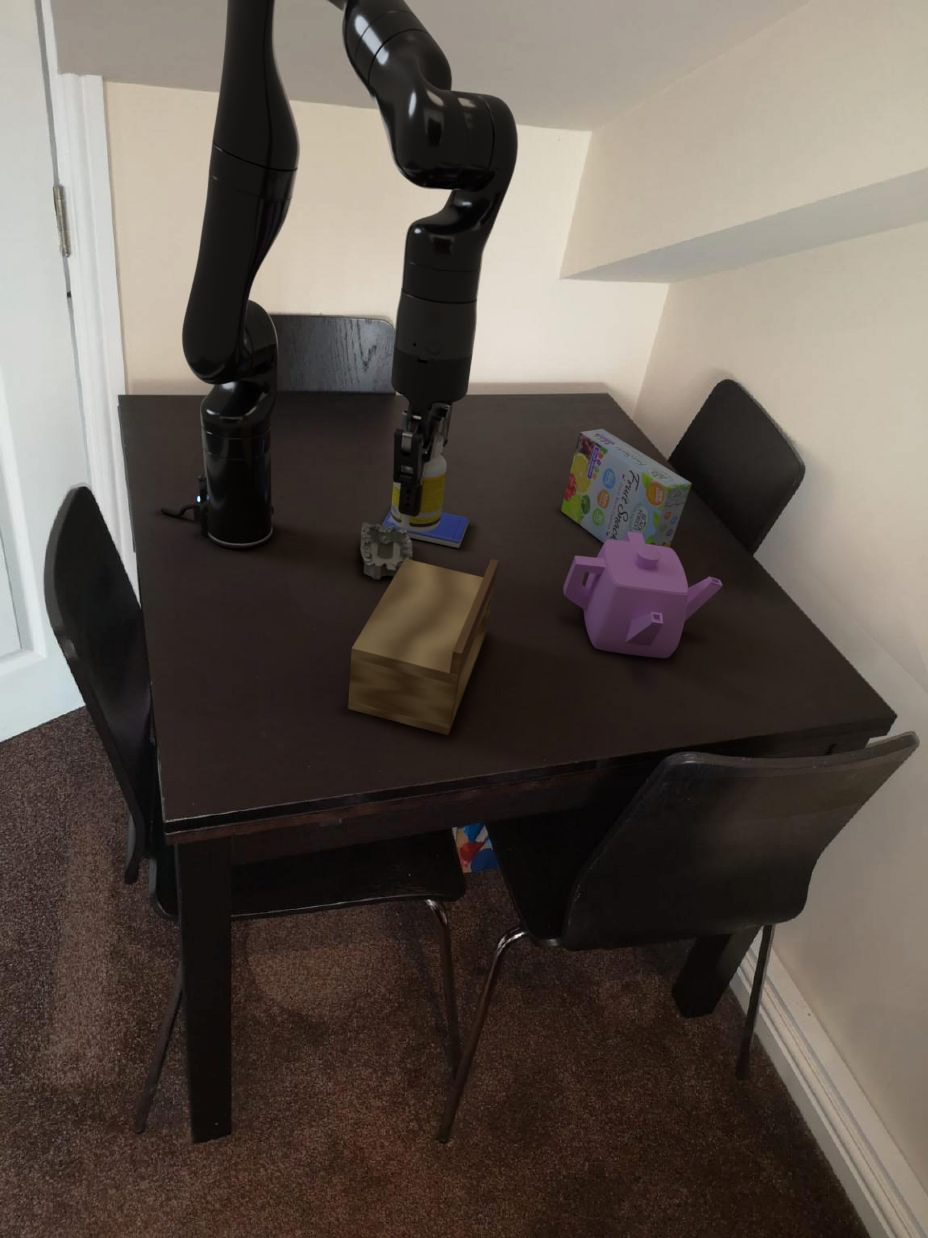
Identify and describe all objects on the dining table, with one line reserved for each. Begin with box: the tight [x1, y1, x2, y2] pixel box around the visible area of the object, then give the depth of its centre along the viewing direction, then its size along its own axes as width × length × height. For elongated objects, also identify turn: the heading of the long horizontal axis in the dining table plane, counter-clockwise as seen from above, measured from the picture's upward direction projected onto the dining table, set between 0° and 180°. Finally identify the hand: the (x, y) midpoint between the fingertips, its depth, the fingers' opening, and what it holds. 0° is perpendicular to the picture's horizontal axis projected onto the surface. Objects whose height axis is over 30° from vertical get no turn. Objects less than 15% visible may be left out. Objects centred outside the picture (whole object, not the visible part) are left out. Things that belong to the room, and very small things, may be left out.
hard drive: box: [381, 510, 470, 549], centre depth 127 cm, size 2×8×12 cm
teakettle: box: [562, 531, 723, 659], centre depth 109 cm, size 17×17×12 cm
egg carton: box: [360, 521, 413, 580], centre depth 117 cm, size 11×8×4 cm
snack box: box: [560, 428, 692, 548], centre depth 128 cm, size 21×6×15 cm, turn 33°
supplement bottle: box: [390, 435, 448, 532], centre depth 84 cm, size 5×5×10 cm
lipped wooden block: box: [347, 558, 500, 736], centre depth 95 cm, size 12×20×12 cm, turn 167°
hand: (417, 500), depth 85 cm, fingers closed on supplement bottle, 5 cm apart
